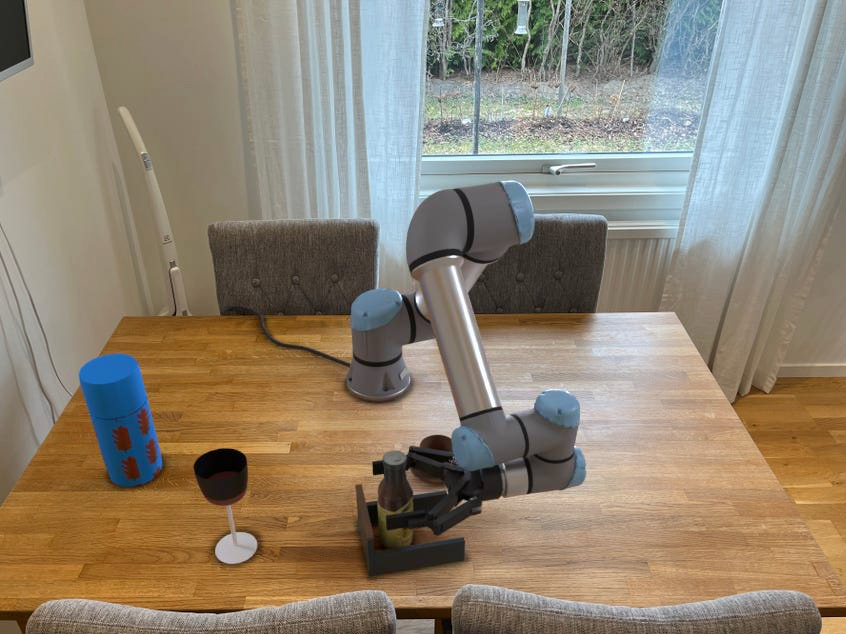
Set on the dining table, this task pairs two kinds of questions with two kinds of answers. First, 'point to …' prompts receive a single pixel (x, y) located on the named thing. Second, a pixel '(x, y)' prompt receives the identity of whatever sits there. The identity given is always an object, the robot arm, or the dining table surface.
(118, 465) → the thermos
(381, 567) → the caddy
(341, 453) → the dining table surface
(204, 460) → the wineglass
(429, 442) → the cup and saucer
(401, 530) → the sauce bottle
